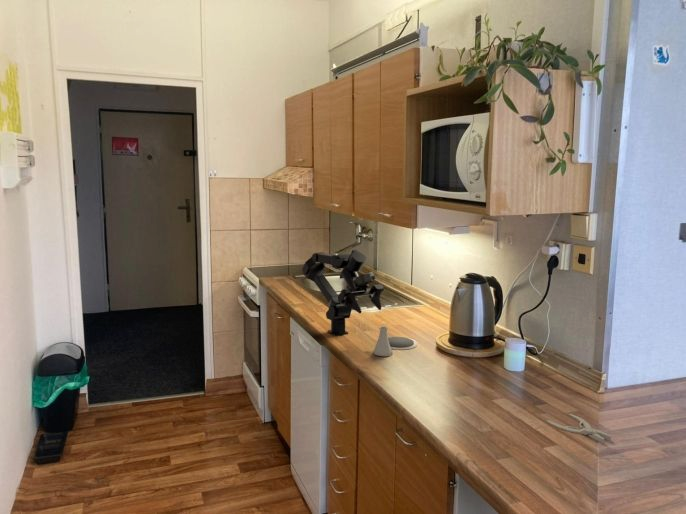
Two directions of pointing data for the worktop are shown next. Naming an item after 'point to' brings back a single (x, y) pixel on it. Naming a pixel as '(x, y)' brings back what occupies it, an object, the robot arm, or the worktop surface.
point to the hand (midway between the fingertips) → (370, 311)
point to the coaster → (402, 343)
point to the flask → (383, 344)
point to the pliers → (584, 430)
